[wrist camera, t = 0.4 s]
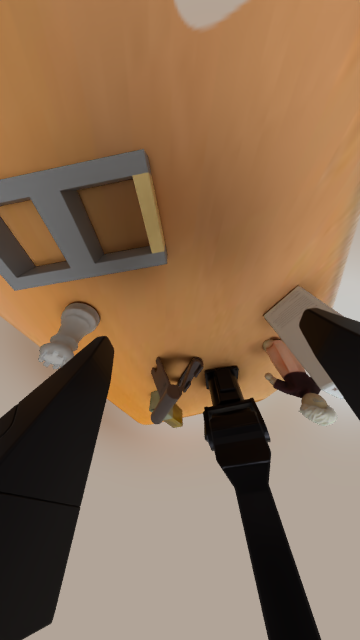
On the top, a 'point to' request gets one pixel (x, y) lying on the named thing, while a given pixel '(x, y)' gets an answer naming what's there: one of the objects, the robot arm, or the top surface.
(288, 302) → the skincare box
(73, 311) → the rook chess piece
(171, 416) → the medication box
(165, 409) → the portable electronic device stand
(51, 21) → the top surface
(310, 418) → the grandmother figurine
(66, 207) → the rail
